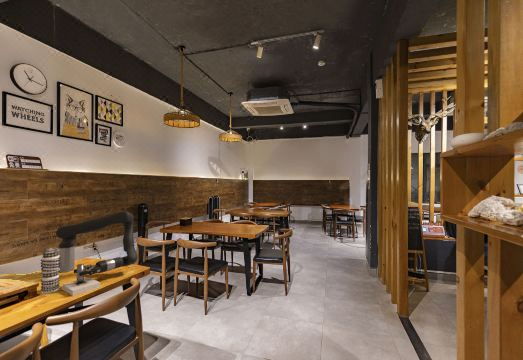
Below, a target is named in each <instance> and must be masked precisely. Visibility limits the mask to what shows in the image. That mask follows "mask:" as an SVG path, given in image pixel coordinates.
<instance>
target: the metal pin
mask: <svg viewBox="0 0 523 360" xmlns="http://www.w3.org/2000/svg"><path fill="white" fill-rule="evenodd" d="M84 266H85V264H84V263H80V264H77V265H76V269H77V273H76V281H77V285H79V284H82V283H84V278H85V275H83V276H79V273H80V272H83V271H84V269H85V268H84Z"/></svg>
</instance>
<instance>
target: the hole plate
mask: <svg viewBox="0 0 523 360" xmlns="http://www.w3.org/2000/svg"><path fill="white" fill-rule="evenodd" d="M99 288H101V282H100V281H98V280H96V279H93V278H91V277H90V276H89V277H88V276H87V277H84V283H82V284H79V285H77V280H74V281H70V282H67V283H66V282H65V283H63V284H62V285H61V290H63V291H65V293H67V294H68V295H70V296H72V297H74V296H78V295H80V294H83V293H87V292H90V291H93V290H96V289H99Z"/></svg>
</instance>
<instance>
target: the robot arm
mask: <svg viewBox="0 0 523 360" xmlns="http://www.w3.org/2000/svg"><path fill="white" fill-rule="evenodd" d="M115 224H122V225H123V228H124V230H123V231H124V232H123V237H122V246H123V247H122V248H123V251H124V252H126V256H119V257H118V256H117V257H115V258H114V257H113V258H107V259H103V260H99V261H96V262H95V265H94V264H87V265H84V271H83V272H80V273H79V276H83V275H84V276H92V275H95V274H102V273H105V272H110V271H112V270H116V269H118V268H121V267H128V266H131V265H133V264H135V263H136V262H137V261H138V253H137V251H136V248H135V240H134V215H133V214H132V213H131V212H129V211H127V210H122V211H117V212H114V213H113V214H110V215H106V216H105V215H103V216H100V217H95V218H92V219H91V218H90V219H88V220H85V221H82V222H79V223H75V224H65V225H62V226H60V227H59V228H58V229H57V230H56V231H55V236H56V237H57V238H59V239H62V240H61V242H60V243H59V244H58V249H59V256H60V257H61V258H59V259H61V261H59V262H60V263H61V264H59V265H60V267H59V268H60V270H59V273H67V272H71V271H73V274H77V268H75V253H76V251H75V249H76V245H75V244H76V242H77V235H80V234H87V233H92V232H97V231H101V230H103V229H106V228H107V227H109V226H111V225H115Z"/></svg>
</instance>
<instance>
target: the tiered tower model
mask: <svg viewBox="0 0 523 360" xmlns="http://www.w3.org/2000/svg"><path fill="white" fill-rule="evenodd" d="M41 253H42V258H41V259H40V268H41V269H40V270H41V274H42V275H41V276H42V277H41V281H40V282H41V283H40V284H41V286H40V291H41V294H45V295H46V294H51V293H55V292H58V291H59V290H60V287H61V285H60V284H61V283H60V280H61V277H60V272H59V270H60V268H59V267H60V265H59V264H61V263H60V262H59V261H61V259H59V258H61V257H60V256H59V247H48V248H45V249H44V250H43V251H42V252H41Z"/></svg>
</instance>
